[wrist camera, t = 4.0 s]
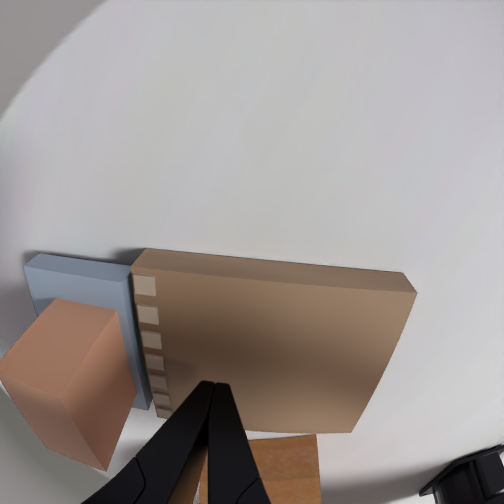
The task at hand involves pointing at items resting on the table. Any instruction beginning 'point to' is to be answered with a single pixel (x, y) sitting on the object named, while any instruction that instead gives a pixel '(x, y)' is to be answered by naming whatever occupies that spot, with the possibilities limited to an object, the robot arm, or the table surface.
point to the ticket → (268, 335)
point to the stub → (78, 357)
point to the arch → (282, 470)
